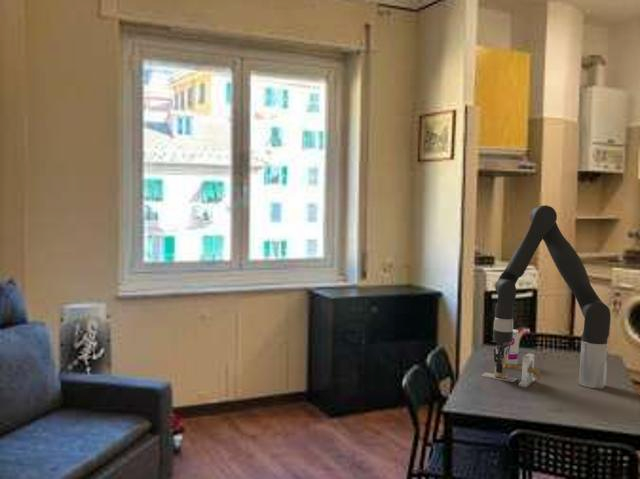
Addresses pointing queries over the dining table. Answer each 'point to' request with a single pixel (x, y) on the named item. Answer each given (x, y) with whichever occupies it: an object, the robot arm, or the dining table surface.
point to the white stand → (526, 376)
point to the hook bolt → (513, 368)
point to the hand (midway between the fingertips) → (500, 371)
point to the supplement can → (514, 348)
